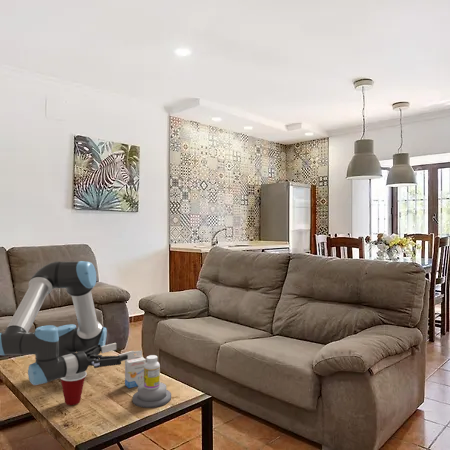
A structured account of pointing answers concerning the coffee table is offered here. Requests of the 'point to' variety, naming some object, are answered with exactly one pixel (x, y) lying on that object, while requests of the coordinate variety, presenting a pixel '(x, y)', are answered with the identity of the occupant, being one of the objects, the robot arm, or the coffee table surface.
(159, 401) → the grey hat
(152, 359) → the supplement bottle
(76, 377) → the plastic cup
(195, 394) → the coffee table surface
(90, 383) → the coffee table surface
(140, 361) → the ink box
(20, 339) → the robot arm
